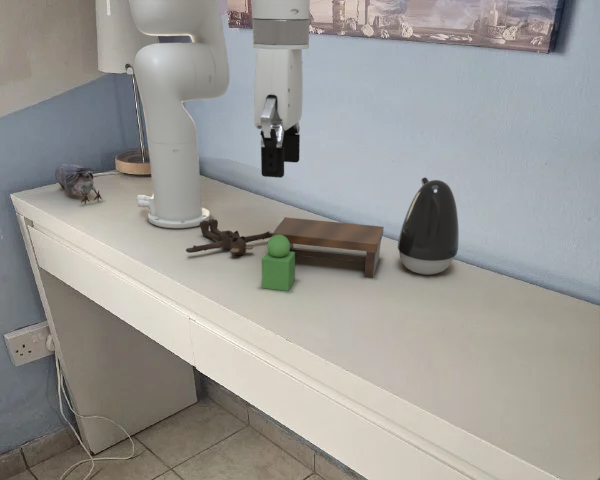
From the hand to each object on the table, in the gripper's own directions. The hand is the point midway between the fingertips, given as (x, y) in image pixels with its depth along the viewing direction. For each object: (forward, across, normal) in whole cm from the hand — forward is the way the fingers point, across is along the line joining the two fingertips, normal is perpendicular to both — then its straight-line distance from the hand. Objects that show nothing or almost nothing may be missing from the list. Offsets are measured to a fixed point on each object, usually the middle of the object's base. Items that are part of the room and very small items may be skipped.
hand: (281, 168), depth 92 cm
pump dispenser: (+18, -13, +23) cm, 32 cm away
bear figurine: (+18, -14, -14) cm, 27 cm away
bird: (+17, -34, -56) cm, 68 cm away
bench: (+18, -11, +6) cm, 22 cm away
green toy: (+18, 0, 0) cm, 18 cm away
